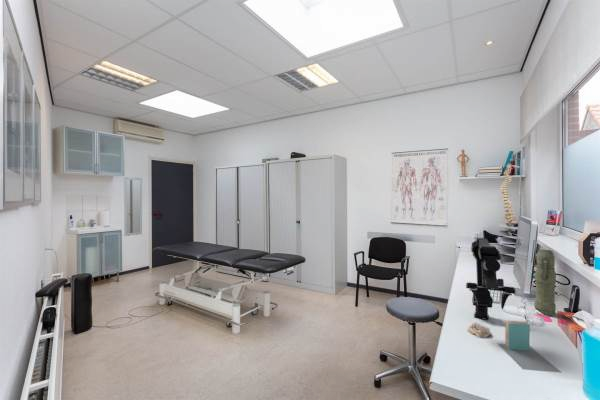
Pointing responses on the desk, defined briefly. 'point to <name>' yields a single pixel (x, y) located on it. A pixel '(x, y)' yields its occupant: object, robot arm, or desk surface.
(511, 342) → the tile
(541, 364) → the mat
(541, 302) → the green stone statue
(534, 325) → the desk surface
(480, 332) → the rock
